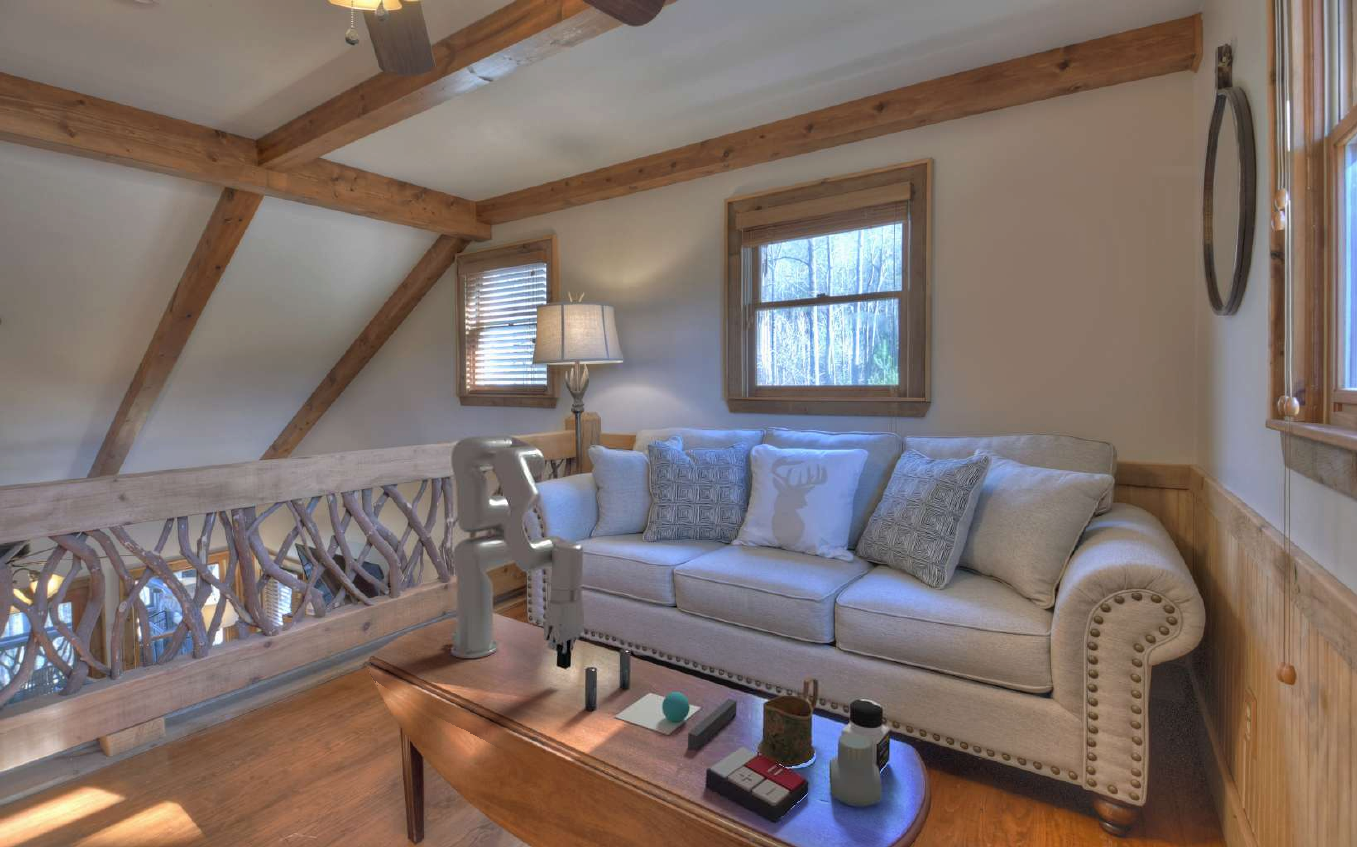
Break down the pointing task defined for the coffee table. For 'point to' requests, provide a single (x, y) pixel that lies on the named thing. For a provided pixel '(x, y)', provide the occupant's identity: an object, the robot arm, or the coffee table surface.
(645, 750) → the coffee table surface
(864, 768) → the air freshener
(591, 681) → the post
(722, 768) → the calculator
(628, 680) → the post
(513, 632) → the coffee table surface
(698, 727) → the wall
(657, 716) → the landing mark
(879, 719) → the medicine bottle
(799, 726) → the mug
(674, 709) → the ball
